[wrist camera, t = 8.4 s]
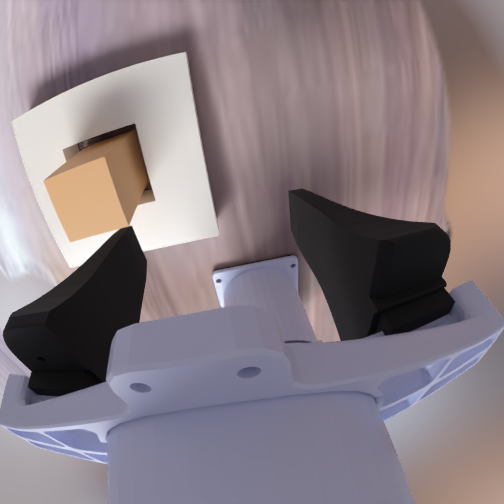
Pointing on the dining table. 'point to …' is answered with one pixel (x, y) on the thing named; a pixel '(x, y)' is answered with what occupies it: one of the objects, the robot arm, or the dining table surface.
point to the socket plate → (152, 144)
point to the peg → (99, 187)
